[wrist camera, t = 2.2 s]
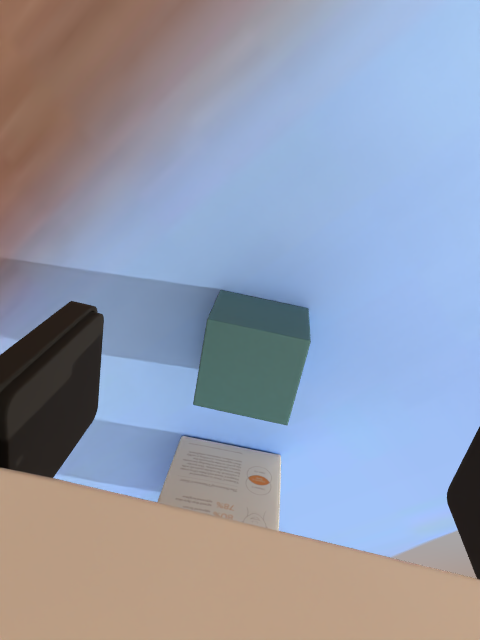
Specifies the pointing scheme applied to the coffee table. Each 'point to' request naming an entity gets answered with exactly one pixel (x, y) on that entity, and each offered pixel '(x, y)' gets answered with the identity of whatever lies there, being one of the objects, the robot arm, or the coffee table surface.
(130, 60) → the coffee table surface
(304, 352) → the teal block
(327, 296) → the coffee table surface
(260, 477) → the small box
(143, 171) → the coffee table surface
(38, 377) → the robot arm
